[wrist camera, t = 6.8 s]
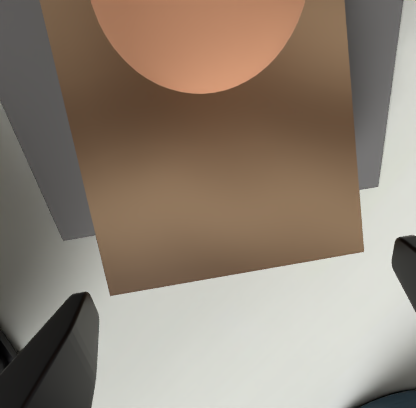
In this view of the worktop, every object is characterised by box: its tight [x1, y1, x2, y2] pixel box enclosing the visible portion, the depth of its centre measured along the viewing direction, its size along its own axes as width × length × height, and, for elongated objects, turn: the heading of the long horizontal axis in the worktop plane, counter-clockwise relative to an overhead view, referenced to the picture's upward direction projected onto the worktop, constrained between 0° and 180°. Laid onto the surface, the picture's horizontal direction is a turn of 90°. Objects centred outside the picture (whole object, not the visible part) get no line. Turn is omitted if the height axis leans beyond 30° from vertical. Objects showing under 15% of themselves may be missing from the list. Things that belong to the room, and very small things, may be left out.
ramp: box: [40, 0, 364, 296], centre depth 12 cm, size 10×9×5 cm
